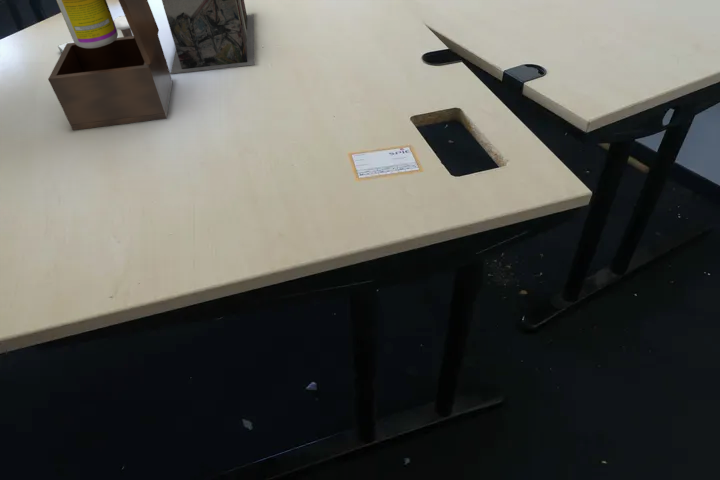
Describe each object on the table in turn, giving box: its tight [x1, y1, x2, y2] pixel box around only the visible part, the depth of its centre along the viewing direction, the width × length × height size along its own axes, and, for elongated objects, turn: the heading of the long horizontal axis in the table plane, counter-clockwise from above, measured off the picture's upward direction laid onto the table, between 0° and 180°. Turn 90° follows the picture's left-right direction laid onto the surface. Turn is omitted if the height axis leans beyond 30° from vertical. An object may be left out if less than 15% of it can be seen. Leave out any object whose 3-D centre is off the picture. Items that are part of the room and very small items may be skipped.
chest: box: [48, 35, 174, 131], centre depth 89 cm, size 15×13×9 cm
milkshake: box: [113, 15, 133, 38], centre depth 99 cm, size 4×5×10 cm
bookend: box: [161, 0, 256, 75], centre depth 103 cm, size 16×25×16 cm, turn 9°
